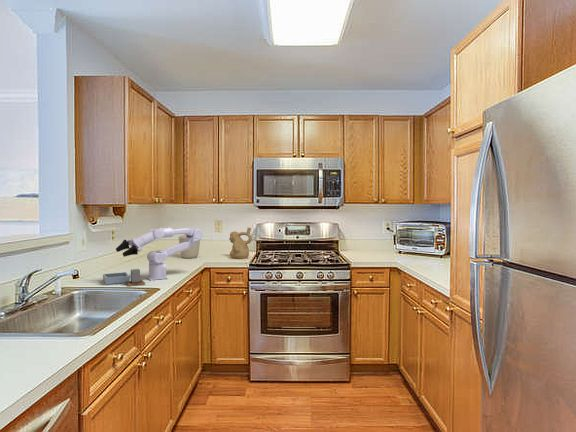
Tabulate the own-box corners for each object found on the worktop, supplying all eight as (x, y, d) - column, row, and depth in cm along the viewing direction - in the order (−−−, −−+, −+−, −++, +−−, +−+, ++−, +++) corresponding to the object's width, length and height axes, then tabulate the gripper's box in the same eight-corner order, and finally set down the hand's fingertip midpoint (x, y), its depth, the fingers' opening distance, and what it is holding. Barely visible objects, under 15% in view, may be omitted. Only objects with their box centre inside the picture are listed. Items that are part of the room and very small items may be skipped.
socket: (141, 282, 212) (141, 279, 212) (145, 284, 205) (145, 282, 205) (125, 283, 207) (125, 281, 207) (128, 286, 200) (128, 284, 200)
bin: (125, 279, 219) (125, 272, 219) (129, 282, 209) (129, 275, 209) (102, 281, 213) (102, 274, 213) (105, 285, 203) (105, 277, 202)
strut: (138, 283, 209) (138, 268, 208) (140, 284, 205) (140, 270, 205) (130, 284, 207) (130, 269, 206) (132, 285, 203) (132, 270, 203)
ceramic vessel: (233, 256, 318) (233, 226, 317) (255, 257, 313) (255, 227, 312) (224, 258, 302) (224, 227, 301) (247, 260, 296) (247, 228, 295)
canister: (196, 255, 318) (196, 230, 317) (204, 258, 303) (204, 232, 302) (175, 256, 308) (175, 231, 308) (181, 259, 293) (181, 232, 292)
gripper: (133, 231, 217) (111, 242, 209) (146, 239, 209) (124, 251, 200) (137, 241, 221) (115, 252, 213) (150, 249, 212) (128, 261, 204)
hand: (119, 252), depth 207 cm, fingers open, 7 cm apart
